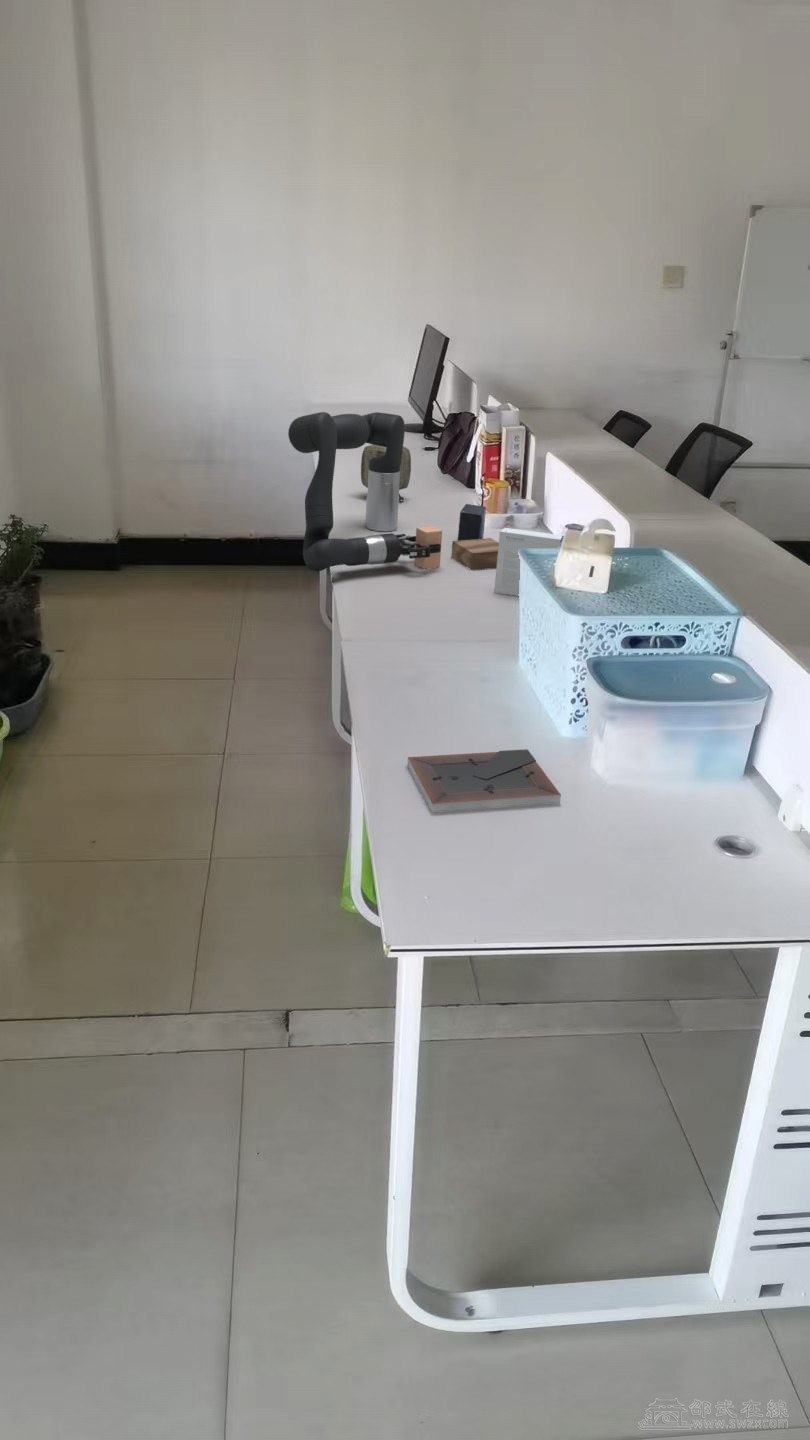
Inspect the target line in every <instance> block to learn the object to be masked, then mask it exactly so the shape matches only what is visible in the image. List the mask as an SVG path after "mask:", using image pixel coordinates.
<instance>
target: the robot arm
mask: <svg viewBox="0 0 810 1440" xmlns="http://www.w3.org/2000/svg"><path fill="white" fill-rule="evenodd" d="M405 425H406V424H405V420H404V417H402V416H401V415H399V414H393V413H386V412H372V413H367V414H363V415H361V414H357V413H344V414H343V413H342V414H337V415H331V414H330V413H328V412H327V411H322V412H316V413H311V414H307V415H302V416H298V417H297V418H295V419H294V420H293V421H291V423H290V425H289V427H288V434H287V435H288V440H289V442H290V444H291V445H292V447H293V448H294V449H295V450H296V451H298V452H299V453H302V454H311V453H316V452H318V460H317V465H316V468H315V471H314V474H313V477H312V479H311V480H310V481H311V482H310V483H309V486H308V488H307V491H306V494H305V497H304V498H305V499H304V511H305V513H304V514H305V532H304V539H303V547H302V555H303V556H302V557H303V561H304V563H305V565H306V567H307V568H308V569H309V570H311V571H313V572H321V571H324V570H326V569H329V568H331V567H334V566H349V567H355V566H363V565H373V566H374V565H381V564H382V565H383V564H389V563H396V562H398V560H399V559H400V557H401V556H404V557H408V559H410V560H412V559H414V560H415V558H425V557H430V553H439V552H440V551H441V552H442V544H441V545H440V544H431V545H423V544H420V542H416V535H406V533H401V534H399V533H398V534H395V533H392V531H396V530H397V529H398V518H399V502H400V501H399V494H400V490H399V483H400V466H401V461H402V453H403V446H404V440H405V431H406V429H405ZM365 444H369V445H378V446H384V447H387V448H386V453H385V454H384V455H382V456H379V457H375V458H372V459H370V461H369V474H368V488H367V493H366V502H365V503H366V507H365V509H366V510H365V511H366V512H365V527H366V529H368V530H372V531H376V532H389V533H382V534H372V535H371V534H370V535H366V536H361V537H351V538H330V533H331V531H332V530H333V528H334V510H333V509H334V507H333V505H334V504H333V487H334V483H333V482H334V476H335V475H334V474H335V467H336V456H337V455H336V453H337V450H354V449H358V448H361V447H362V446H364V445H365ZM415 545H416V546H417V548H415ZM423 550H424V552H423Z"/></svg>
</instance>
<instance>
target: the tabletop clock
mask: <svg viewBox="0 0 810 1440" xmlns="http://www.w3.org/2000/svg"><path fill="white" fill-rule="evenodd" d="M386 448H387V447H384V446H378V445H372V444H369V445H367V446H364V449H363V451H362V454H361V462H360V480H361V484H362V485H363V486H364V487H365V488H367V489H368V474H369V461H370V459H372V458H375V457H379V456H382V455H384V454H385V453H386ZM410 451H411V450H410V449H409V448H407V446H404V445H403V453H402V461H401V466H400V483H399V491H401V490H405V489H407V488H408V486H409V483H410V480H411V472H412V456H411V452H410ZM399 500H405V498H404V497H403V496H401V494H400V493H399Z"/></svg>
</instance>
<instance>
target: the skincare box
mask: <svg viewBox="0 0 810 1440" xmlns="http://www.w3.org/2000/svg"><path fill="white" fill-rule="evenodd" d="M562 536H564V535H562V534H554V533H547V532H539V531H531V530H524V529H517V528H508V527H504V528H502V529H501V530H499V536H498V537H499V538H498V543H499V547H498V556H497V567H496V568H495V569H496V571H495V580H494V581H495V582H494V590H493V592H495V593H494V594H499V593H501V595H506V594H510V595H509V596H512V595H516V596H515V597H519V596H518V594H519V580H520V559H519V555H518V550H519V549H523V548H558V547H559V545H560V540H561V538H562Z"/></svg>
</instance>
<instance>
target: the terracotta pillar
mask: <svg viewBox="0 0 810 1440" xmlns="http://www.w3.org/2000/svg"><path fill="white" fill-rule="evenodd" d="M415 536H416V542H420V544H423V545H431V544H440V545H441V546H442V538H443V530H441V529H439V528H437V527H435V526H433V525H432V526H424V527H423V526H420V527H416V530H415ZM415 548H417V546H416V545H415ZM423 552H424V550H423ZM441 552H442V550H441V551H440V552H439V553H430V557H425V558H414V560H413V561H414V562H413V563H414V565H415V564H416V565H415V566H417V565H418V566H419V567H418V566H417V567H418V568H420V567H421V568H420V569H422V568H423V569H422V570H426V569H425V568H431V569H436V568H435V567H440V566H441V554H442V553H441ZM440 568H441V567H440Z"/></svg>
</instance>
